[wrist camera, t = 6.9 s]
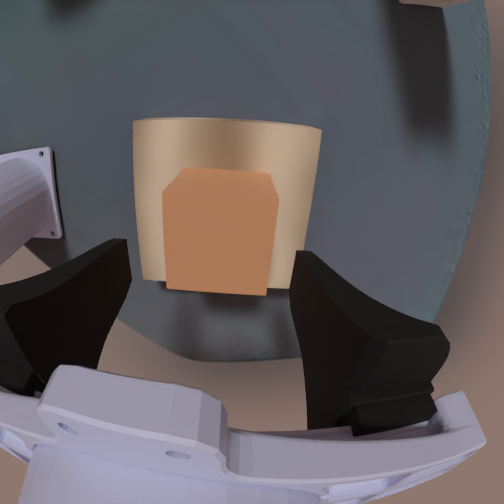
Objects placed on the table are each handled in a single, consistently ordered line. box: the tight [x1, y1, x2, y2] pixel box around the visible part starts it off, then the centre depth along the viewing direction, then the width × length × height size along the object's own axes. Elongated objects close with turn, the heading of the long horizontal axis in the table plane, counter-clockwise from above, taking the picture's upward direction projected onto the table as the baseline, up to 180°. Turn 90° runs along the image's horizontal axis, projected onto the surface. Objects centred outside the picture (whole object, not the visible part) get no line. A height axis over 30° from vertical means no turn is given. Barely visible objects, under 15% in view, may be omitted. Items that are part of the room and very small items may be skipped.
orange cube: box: [162, 168, 279, 296], centre depth 15 cm, size 5×5×5 cm
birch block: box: [133, 118, 322, 289], centre depth 19 cm, size 11×11×4 cm
